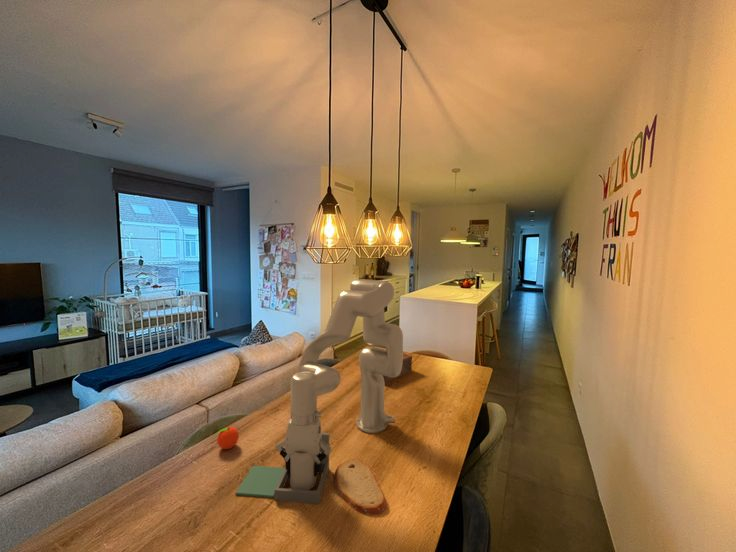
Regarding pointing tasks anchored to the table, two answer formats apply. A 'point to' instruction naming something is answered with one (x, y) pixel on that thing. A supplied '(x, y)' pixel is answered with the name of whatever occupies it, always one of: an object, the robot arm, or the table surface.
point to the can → (302, 471)
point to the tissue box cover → (405, 368)
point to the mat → (260, 481)
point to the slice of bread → (359, 487)
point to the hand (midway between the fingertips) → (303, 472)
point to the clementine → (227, 437)
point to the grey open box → (304, 495)
